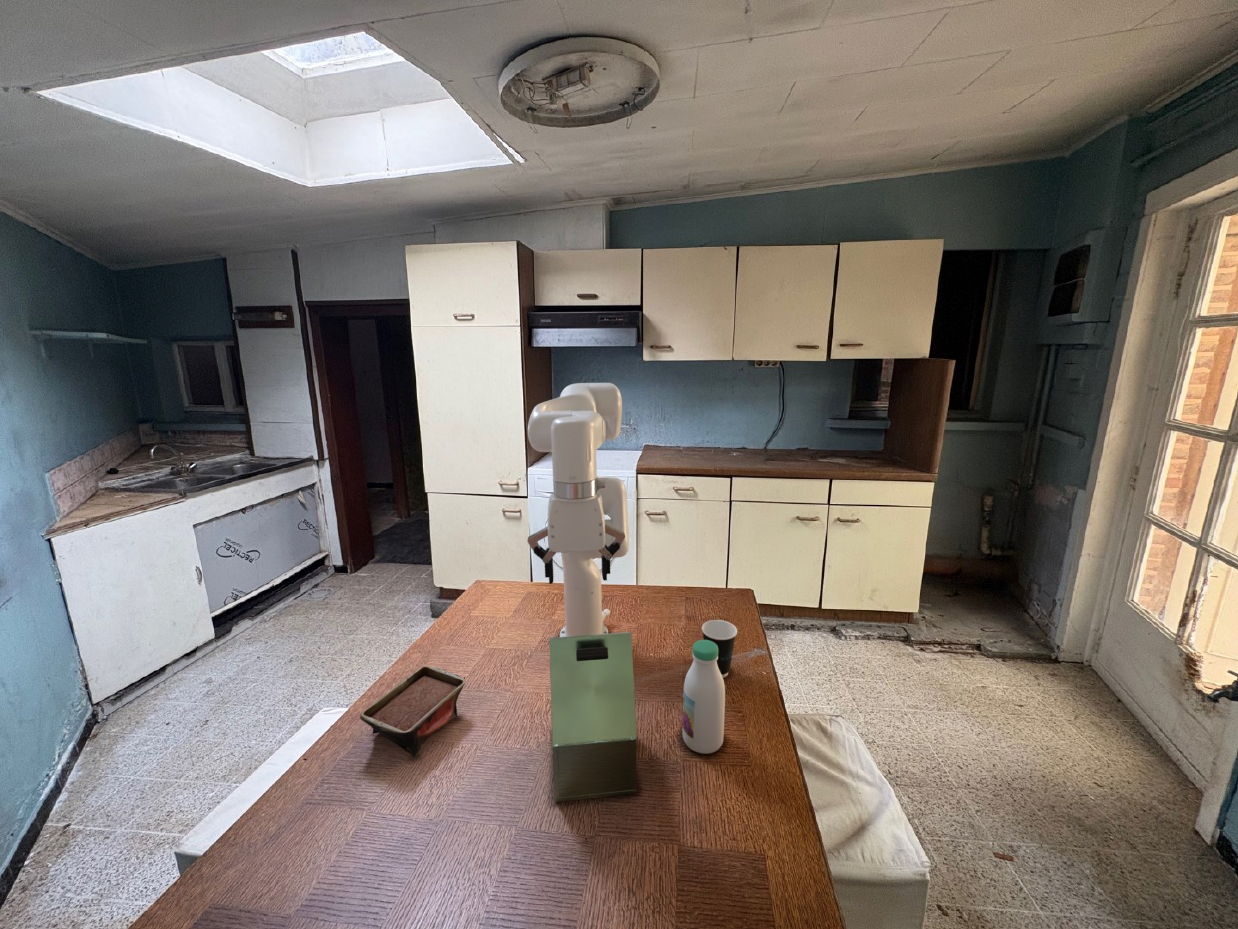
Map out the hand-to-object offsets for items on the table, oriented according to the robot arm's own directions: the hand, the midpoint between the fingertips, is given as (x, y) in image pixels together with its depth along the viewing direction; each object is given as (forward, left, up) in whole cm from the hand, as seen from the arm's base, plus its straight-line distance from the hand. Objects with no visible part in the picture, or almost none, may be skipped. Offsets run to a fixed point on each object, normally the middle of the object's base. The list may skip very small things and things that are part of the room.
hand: (578, 578), depth 91 cm
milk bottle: (-10, +21, -32) cm, 40 cm away
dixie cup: (-31, +16, -32) cm, 48 cm away
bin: (+5, +6, -32) cm, 33 cm away
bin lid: (+9, +9, -13) cm, 18 cm away
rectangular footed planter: (+16, -29, -32) cm, 46 cm away
